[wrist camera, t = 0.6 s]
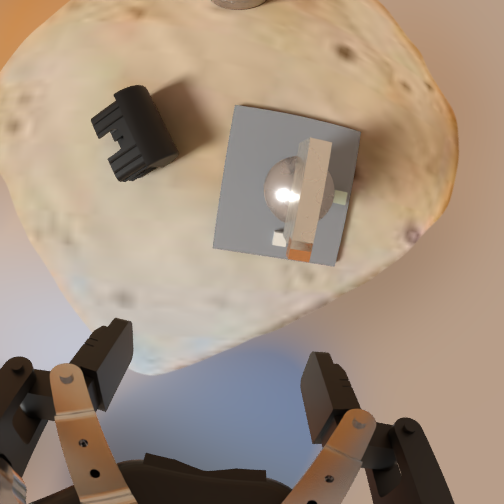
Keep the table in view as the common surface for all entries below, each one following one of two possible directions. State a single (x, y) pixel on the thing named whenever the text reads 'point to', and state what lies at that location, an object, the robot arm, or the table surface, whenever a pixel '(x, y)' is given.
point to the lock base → (253, 175)
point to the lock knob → (301, 195)
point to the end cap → (135, 134)
